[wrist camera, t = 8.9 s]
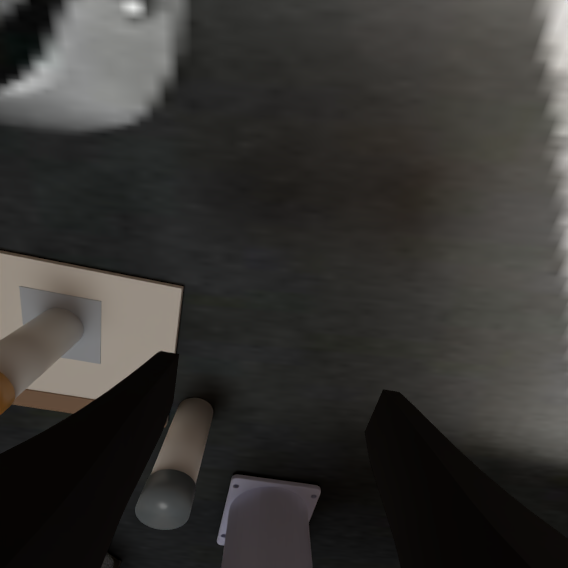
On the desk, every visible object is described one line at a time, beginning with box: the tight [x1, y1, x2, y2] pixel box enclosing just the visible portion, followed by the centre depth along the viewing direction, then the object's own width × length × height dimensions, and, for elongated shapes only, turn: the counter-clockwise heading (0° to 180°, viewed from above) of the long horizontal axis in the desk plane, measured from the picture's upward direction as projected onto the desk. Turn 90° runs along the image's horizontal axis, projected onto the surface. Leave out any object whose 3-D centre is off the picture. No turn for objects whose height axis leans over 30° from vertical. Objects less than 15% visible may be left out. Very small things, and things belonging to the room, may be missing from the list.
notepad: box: [0, 250, 184, 427], centre depth 21 cm, size 12×13×1 cm
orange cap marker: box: [0, 308, 84, 415], centre depth 17 cm, size 3×3×8 cm
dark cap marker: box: [135, 398, 213, 530], centre depth 21 cm, size 3×3×8 cm
